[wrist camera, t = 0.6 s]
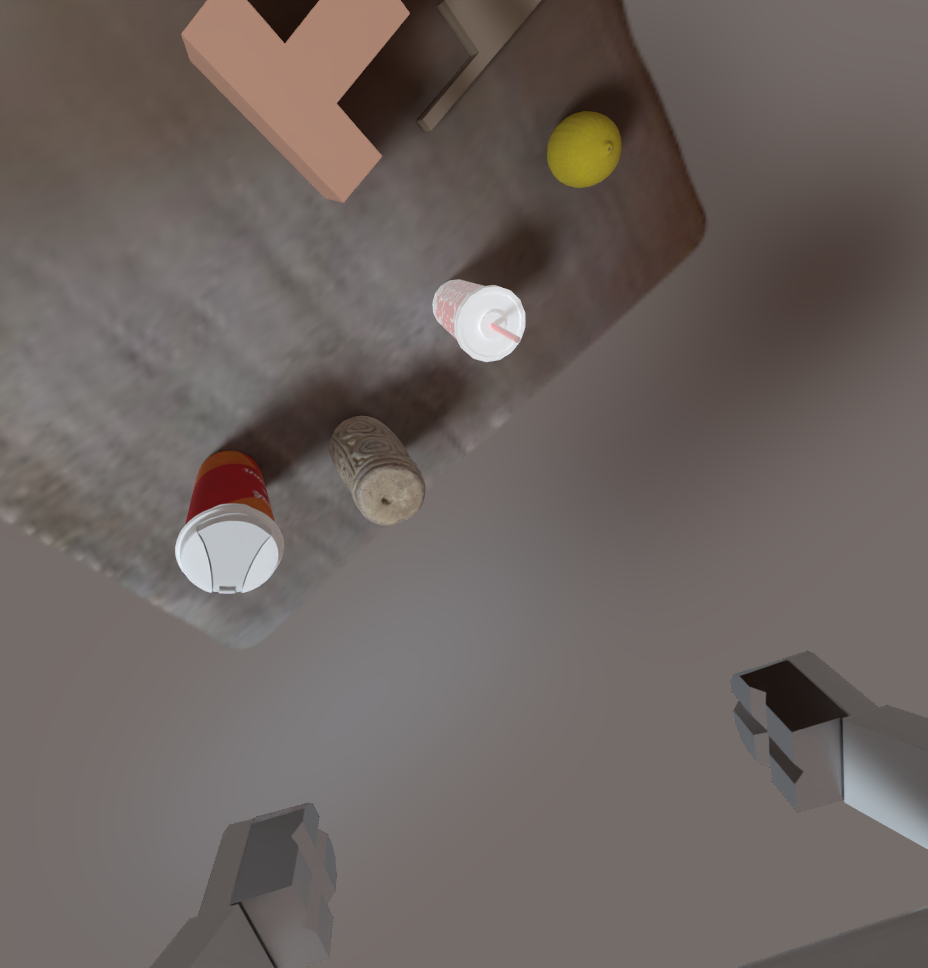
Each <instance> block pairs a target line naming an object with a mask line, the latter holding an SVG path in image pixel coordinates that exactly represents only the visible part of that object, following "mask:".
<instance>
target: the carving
mask: <svg viewBox="0 0 928 968" xmlns="http://www.w3.org/2000/svg"><path fill="white" fill-rule="evenodd" d="M329 450H330V455H331V458H332V461H333V463H334V466H335V468H336V469H337V470H338V473H339V475H340V477H341V478H342V480H343V481H344V483H345V484H346V486H347V487H348V489H349V491H350V492H351V493H352V496H353V499H354V502H355V504H356V505H357V507H358V509H359V510H360V511H361V513H362V514H363V515H364V516H365V517H366V518H367V519H368V520H370V521H372V522H374V523H376V524H380V525H395V524H397V523H399V522H402V521H405V520H407V519H408V518H410V517H412V516H413V515H414V514H415V513H416V512H417V511H418V510H419V509H420V507H421V506H422V503H423V501H424V497H425V482H424V479H423V476H422V474H421V471H420V470H419V469H418V468H417V465H416V463H414V462H413V461H412V459H411V458H410V456H409V454H408V452H407V451H406V449H405V448H404V446H403V444H402V443H401V441H400V440H399V439H398V437H397V436H396V435H395V434H394V433H393V432H392V431H391V430H390V429H389V428H388V427H387V426H386V425H385V424H383V423H382V422H380V421H379V420H377V419H375V418H372V417H368V416H356V417H352V418H349V419H347V420H345V421H343V422H342V423H341V424H340V425H339V426H338V427H337V428H336V429H335V430H334V432H333V434H332V437H331V439H330V443H329Z"/></svg>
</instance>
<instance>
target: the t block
mask: <svg viewBox="0 0 928 968" xmlns="http://www.w3.org/2000/svg"><path fill="white" fill-rule="evenodd" d="M409 14H410V13H409V11H408V10H407V8H406V7H405V6H404V4H403V3H402V1H401V0H319V1H318V3H317V4H316V5H315V6H314V8H313V9H312V10H311V11H310V13H309V14H308V15H307V16H306V18H305V19H304V20H303V22H302V23H301V24H300V25H299V27H298V28H297V29H296V30H295V32H294V33H293V34H292V35H291V37H290V38H289V39H288V40H287V42H286V43H284V42H283V41H282V40H281V39H280V38H279V36H278V35H277V34H276V33H275V32H274V31H273V29H272V28H271V27H270V26H269V25H268V24H267V23H266V21H265V20H264V19H263V18H262V17H261V16H260V14H259V13H258V12H257V11H256V10H255V9H254V8H253V6H252V5H251V4H250V3H249V2H248V1H247V0H207V1H206V2H205V4H204V5H203V6H202V8H201V9H200V10H199V12H198V13H197V14H196V16H195V17H194V18H193V19H192V21H191V22H190V23H189V25H188V26H187V27H186V29H185V30H184V31H183V32H182V34H181V35H182V38H183V41H184V44H185V47H186V50H187V53H188V56H189V59H190V61H191V62H192V63H193V64H194V65H195V66H196V67H197V68H198V69H199V70H200V71H201V72H202V73H203V74H204V75H205V76H206V77H207V78H208V79H209V80H210V81H211V82H212V83H213V84H214V85H215V86H216V87H217V89H218V90H219V91H220V92H221V93H222V94H223V95H224V96H225V97H226V98H227V99H228V100H229V101H230V102H231V103H232V104H233V105H234V106H235V107H236V108H237V109H238V110H239V111H240V112H241V113H242V114H243V115H244V116H245V117H246V118H247V119H248V120H249V121H250V122H251V123H252V124H253V125H254V126H255V127H256V128H257V129H258V130H259V131H260V132H261V133H262V134H263V135H264V136H265V137H266V138H267V140H268V141H269V142H270V143H271V144H272V145H273V146H274V147H275V148H276V149H277V150H278V151H279V152H280V153H281V154H282V155H283V156H284V157H285V158H286V159H287V160H288V161H289V162H290V163H291V164H292V165H293V166H294V167H295V168H296V169H297V170H298V171H299V172H300V173H301V174H302V175H303V176H304V177H305V178H306V179H307V180H308V181H309V182H310V183H311V184H312V185H313V186H314V187H315V188H316V189H317V191H318V192H319V193H320V194H321V195H322V196H323V197H324V198H327V199H331V200H335V201H339V202H344V201H345V200H346V199H347V198H348V197H349V195H350V194H351V193H352V192H353V191H354V190H355V188H356V187H357V186H358V185H359V184H360V182H361V181H362V180H363V179H364V178H365V176H366V175H367V174H368V173H369V172H370V170H371V169H372V168H373V167H374V166H375V164H376V163H377V162H378V161H379V160H380V159H381V157H382V155H381V154H380V153H379V152H378V151H377V149H376V148H375V147H374V146H373V145H372V144H371V143H370V141H369V140H368V139H367V138H366V137H365V136H364V134H363V133H362V132H361V131H360V130H359V129H358V128H357V126H356V125H355V124H354V123H353V122H352V121H351V119H350V118H349V117H348V116H347V115H346V114H345V113H344V111H343V110H342V109H341V108H340V107H339V106H338V104H337V102H338V101H339V100H340V99H341V97H342V96H343V95H344V94H345V93H346V91H347V90H348V89H349V88H350V86H351V85H352V84H353V83H354V82H355V80H356V79H357V78H358V77H359V75H360V74H361V73H362V72H363V71H364V69H365V68H366V67H367V66H368V64H369V63H370V62H371V61H372V60H373V58H374V57H375V56H376V55H377V53H378V52H379V51H380V50H381V49H382V47H383V46H384V45H385V44H386V42H387V41H388V40H389V39H390V37H391V36H392V35H393V34H394V33H395V31H396V30H397V29H398V28H399V26H400V25H401V24H402V23H403V22H404V20H405V19H406V18H407V17H408V15H409Z"/></svg>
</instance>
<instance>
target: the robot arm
mask: <svg viewBox="0 0 928 968" xmlns="http://www.w3.org/2000/svg"><path fill="white" fill-rule="evenodd" d="M730 683H731V692H732V693H733V694H734V695H735V697H736V698H737V699H738V700H739V701H738V703H737V705H736V706H735V708H734V710H733V712H734V719H735V725H736V727H737V730H738V733H739V735H740V738H741V740H742V742H743V743H744V745H745V747H746V748H747V750H748V752H749V753H750V754H751V755H752V757H753V758H754V759H755V761H756V762H758V763H760V764H762V765H764V766H767V767H769V768H771V776H772V782H773V784H774V785H775V786H776V787H777V788H778V790H779V791H780V792H781V793H782V795H783V796H784V797H785V798H786V799H787V801H788V802H789V803H790V805H791V806H792V807H793V808H794V810H795V811H796V812H797V813H798V812H802V811H805V810H809V809H813V808H816V807H820V806H823V805H827V804H831V803H834V802H837V801H841V800H845V803H846V804H848V805H850V806H852V807H854V808H855V809H857V810H859V811H861V812H863V813H864V814H866V815H868V816H870V817H871V818H873V819H875V820H877V821H878V822H880V823H882V824H884V825H885V826H887V827H889V828H891V829H893V830H895V831H896V832H898V833H900V834H902V835H903V836H905V837H907V838H909V839H911V840H912V841H914V842H916V843H918V844H919V845H921V846H923V847H925V848H926V849H928V718H926V717H922V716H920V715H917V714H914V713H910V712H907V711H904V710H901V709H898V708H895V707H892V706H889V705H885V706H882V707H879V706H877V705H876V704H875V703H874V702H872V701H871V700H870V699H869V698H868V697H866V696H865V695H864V694H863V693H862V692H860V691H859V690H858V689H857V688H856V687H854V686H853V685H852V684H851V683H849V682H848V681H847V680H846V679H845V678H843V677H842V676H841V675H840V674H839V673H837V672H836V671H835V670H834V669H832V668H831V667H830V666H829V665H828V664H826V663H825V662H824V661H823V660H822V659H820V658H819V657H818V656H817V655H816V654H814V653H812V652H809V651H805V652H802V653H799V654H796V655H793V656H789V657H787V658H783V659H782V660H777V661H774V662H771V663H767V664H764V665H761V666H758V667H755V668H751V669H748V670H745V671H742V672H739V673H735V674H733V675H732V677H731V680H730ZM318 824H319V814H318V812H317V810H316V808H315V806H314V805H313V803H305V804H301V805H297V806H294V807H290V808H287V809H283V810H279V811H276V812H272V813H268V814H264V815H261V816H257V817H256V818H252V819H249V820H245V821H241V822H237V823H234V824H230V825H229V826H228V827H227V829H226V830H225V831H224V833H223V835H222V839H221V842H220V845H219V848H218V852H217V855H216V859H215V861H214V865H213V868H212V871H211V874H210V878H209V881H208V884H207V887H206V891H205V894H204V897H203V900H202V904H201V907H200V910H199V913H198V916H197V917H194V918H191V919H189V920H188V921H187V922H186V923H185V925H184V926H183V927H182V928H181V930H180V931H179V932H178V933H177V935H176V936H175V937H174V938H173V939H172V941H171V942H170V943H169V945H168V946H167V947H166V948H165V950H164V951H163V952H162V953H161V954H160V956H159V957H158V958H157V959H156V960H155V962H154V963H153V964H152V965H151V967H150V968H305V967H308V966H311V965H314V964H316V963H319V962H322V961H325V960H328V959H330V948H331V937H332V926H333V916H332V914H331V912H330V910H329V907H328V905H327V904H328V902H329V901H330V899H331V898H332V896H333V895H334V893H335V891H336V877H337V873H336V861H335V854H334V850H333V846H332V843H331V841H330V838H329V836H328V834H327V833H325V832H323V831H322V830H320V829H318ZM735 968H928V905H927V906H924V907H921V908H918V909H914V910H911V911H908V912H905V913H902V914H899V915H896V916H893V917H890V918H886V919H884V920H880V921H877V922H874V923H871V924H868V925H865V926H862V927H859V928H855V929H853V930H849V931H846V932H843V933H840V934H837V935H834V936H831V937H828V938H824V939H821V940H818V941H815V942H812V943H809V944H806V945H803V946H800V947H797V948H794V949H791V950H787V951H784V952H782V953H778V954H775V955H772V956H769V957H766V958H763V959H760V960H757V961H754V962H751V963H747V964H745V965H741V966H738V967H735Z"/></svg>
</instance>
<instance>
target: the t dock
mask: <svg viewBox="0 0 928 968" xmlns="http://www.w3.org/2000/svg"><path fill="white" fill-rule="evenodd" d="M540 2H541V0H442V1H441V2H440V3H439V4H438V6H437V7H436V8H437V9H438V10H439V12H440V13H441V15H442V16H443V18H444V19H445V21H446V22H447V24H448V25H449V26H450V28H451V29H452V31H453V32H454V34H455V35H456V37H457V38H458V40H459V41H460V42H461V44H462V45H463V47H464V48H465V50H466V51H467V53H468V54H469V56H470V57H469V59H468V60H467V61H466V62H465V63H464V65H463V66H462V67H461V68H460V69H459V71H458V72H457V73H456V74H455V75H454V76H453V78H452V79H451V80H450V81H449V82H448V84H447V85H446V86H445V87H444V88H443V90H442V91H441V92H440V93H439V94H438V96H437V97H436V98H435V99H434V100H433V101H432V103H431V104H430V105H429V106H428V107H427V109H426V110H425V111H424V112H423V113H422V115H421V116H420V117H419V118H418V119H417V121H416V123H417V124H418V125H419V126H420V128H421V129H422V130H423V132H428V131H431V130H432V129H433V128H434V127H435V126H436V125H437V123H438V122H439V121H440V120H441V119H442V117H443V116H444V115H445V114H446V113H447V112H448V110H449V109H450V108H451V107H452V106H453V104H454V103H455V102H456V101H457V100H458V99H459V97H460V96H461V95H462V94H463V93H464V91H465V90H466V89H467V88H468V87H469V86H470V84H471V83H472V82H473V81H474V80H475V78H476V77H477V76H478V75H479V74H480V73H481V71H482V70H483V69H484V68H485V67H486V65H487V64H488V63H489V62H490V61H491V60H492V58H493V57H494V56H495V55H496V54H497V52H498V51H499V50H500V49H501V48H502V47H503V45H504V44H505V43H506V42H507V41H508V39H509V38H510V37H511V36H512V35H513V34H514V32H515V31H516V30H517V29H518V28H519V26H520V25H521V24H522V23H523V22H524V21H525V19H526V18H527V17H528V16H529V15H530V13H531V12H532V11H533V10H534V9H535V7H536V6H537V5H538V4H539V3H540Z"/></svg>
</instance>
